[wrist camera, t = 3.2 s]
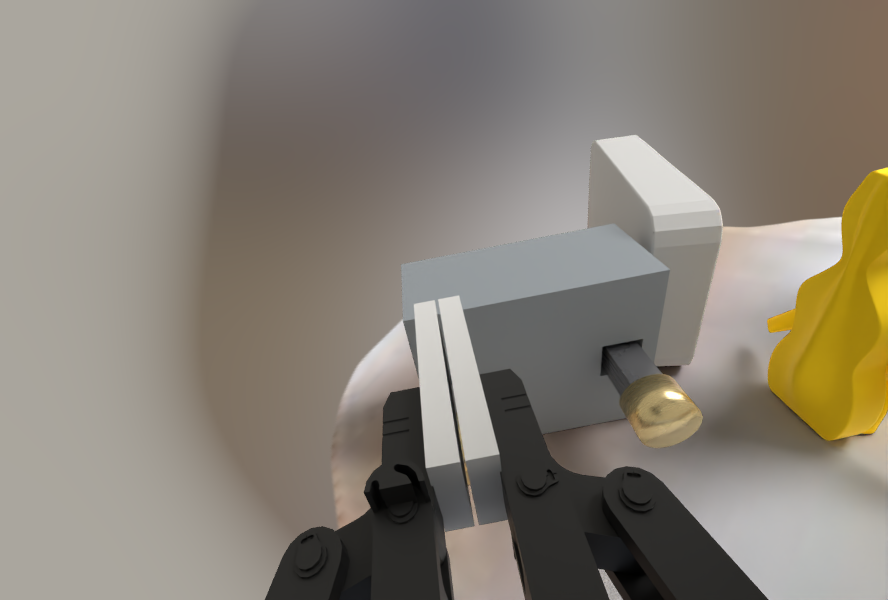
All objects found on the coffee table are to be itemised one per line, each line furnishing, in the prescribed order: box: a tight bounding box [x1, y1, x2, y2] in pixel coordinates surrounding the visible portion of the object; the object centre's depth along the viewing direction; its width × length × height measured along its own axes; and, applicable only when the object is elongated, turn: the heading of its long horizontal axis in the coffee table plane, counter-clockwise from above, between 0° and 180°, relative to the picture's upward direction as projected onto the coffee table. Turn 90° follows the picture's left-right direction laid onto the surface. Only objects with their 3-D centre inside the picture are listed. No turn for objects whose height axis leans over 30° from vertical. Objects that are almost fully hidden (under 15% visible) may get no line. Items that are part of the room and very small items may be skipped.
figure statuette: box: [767, 168, 888, 441], centre depth 30 cm, size 18×8×22 cm, turn 6°
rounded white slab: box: [588, 135, 723, 366], centre depth 48 cm, size 29×8×18 cm, turn 173°
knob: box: [601, 340, 703, 448], centre depth 32 cm, size 4×9×4 cm, turn 6°
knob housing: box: [401, 223, 670, 434], centre depth 38 cm, size 20×9×16 cm, turn 96°
